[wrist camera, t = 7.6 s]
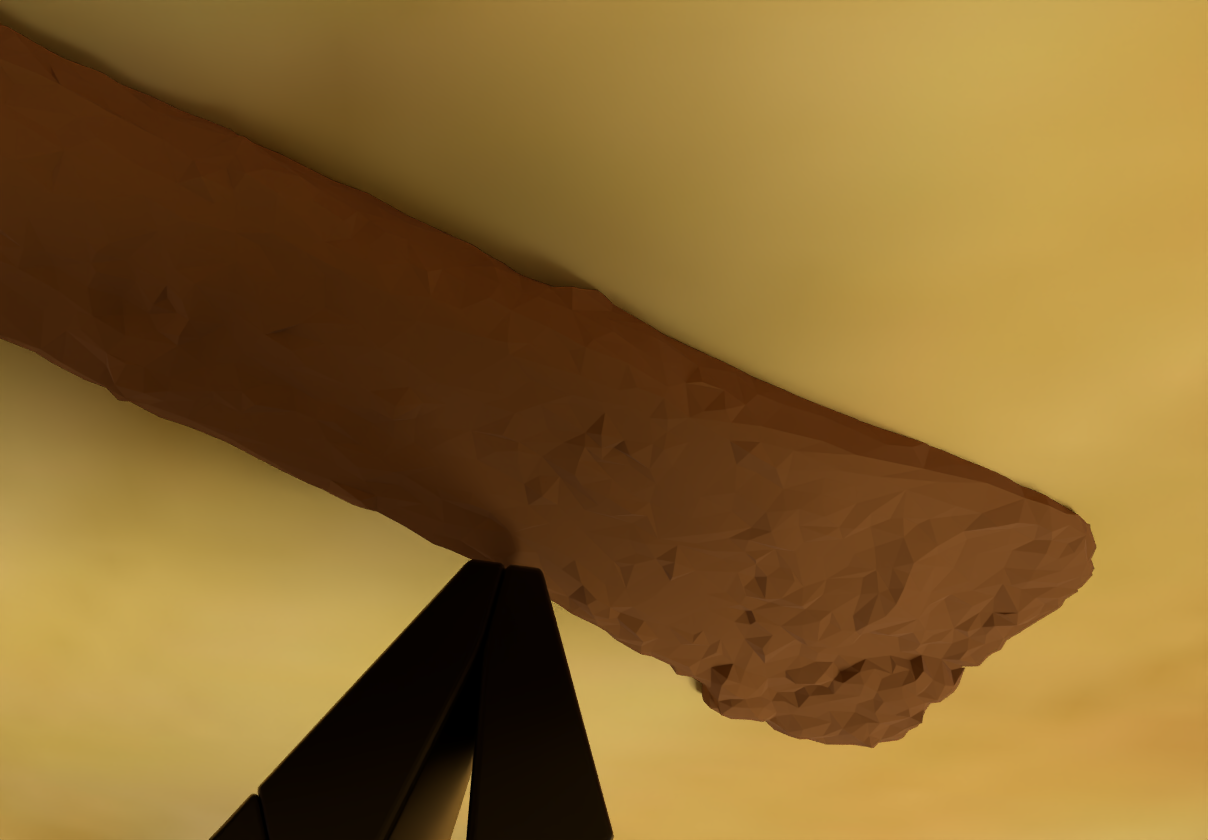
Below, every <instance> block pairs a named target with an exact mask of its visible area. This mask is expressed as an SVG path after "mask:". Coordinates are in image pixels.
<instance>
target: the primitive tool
mask: <svg viewBox="0 0 1208 840" xmlns="http://www.w3.org/2000/svg"><path fill="white" fill-rule="evenodd" d="M0 338H1V339H4V340H6V341H9V342H11V343H14V344H16V345H19V346H21V347H24V348H26V349H29V350H31V351H34V352H36V353H37V354H39V355H40V356H42V357H44V358H45V359H47V360H48V361H50V362H52V363H54V364H55V365H57V366H59V367H61V368H63V369H65V370H67V371H69V372H71V373H73V374H75V375H76V376H78V377H80V378H82V379H84V380H87V381H90V382H92V383H95V384H98V385H101V386H104V387H106V388H107V389H108V390H109V391H110V392H111V393H112V394H113V395H114V396H115V397H116V398H117V399H118V400H121V401H130V402H132V403H134V404H136V405H138V406H140V407H142V408H144V409H145V410H147V411H149V412H151V413H153V414H155V415H157V416H159V417H161V418H164V419H167V420H170V421H173V422H176V423H180V424H183V425H186V426H189V427H191V428H194V429H196V430H199V431H201V432H203V433H206V434H208V435H211V436H213V437H216V438H218V439H221V440H223V441H226V442H228V443H229V444H231V445H233V446H235V447H237V448H239V449H241V450H243V451H245V452H247V453H249V454H251V455H253V456H255V457H256V458H258V459H260V460H262V461H264V462H266V463H268V464H270V465H272V466H274V467H276V468H278V469H280V470H282V471H284V472H286V473H288V474H290V475H292V476H294V477H296V478H298V479H300V480H302V481H305V482H307V483H309V484H311V485H313V486H316V487H319V488H321V489H324V490H325V491H327V492H329V493H330V494H332V495H334V496H336V497H338V498H340V499H343V500H345V501H347V502H349V503H351V504H353V505H356V506H359V507H362V508H365V509H369V510H373V511H377V512H379V513H381V514H383V515H385V516H387V517H389V518H391V519H392V520H394V521H396V522H398V523H400V524H402V525H404V526H405V527H407V528H409V529H410V530H412V531H413V532H415V533H417V534H418V535H420V536H422V537H423V538H425V539H426V540H428V541H430V542H431V543H433V544H435V545H438V546H441V547H444V548H446V549H449V550H452V551H454V552H456V553H458V554H461V555H463V556H465V557H468V558H470V559H472V560H473V559H477V560H484V561H491V562H499V563H502V564H503V565H504V566H505V569H506V568H507V566H509V565H520V566H528V567H535V568H539V569H540V570H541V571H542V572H543V574H544V577H545V581H546V585H547V588H548V592H549V596H550V600H552V601H554V602H555V603H557V604H559V605H560V606H561V607H563V608H564V609H566V610H567V611H569V612H570V613H572V614H574V615H576V616H578V617H580V618H582V619H584V620H586V621H588V622H590V623H592V624H594V625H597V626H598V627H600V628H602V629H604V630H605V631H607V632H608V633H609V634H610V635H611V636H612V637H613V638H614V639H616V640H617V641H619V642H621V643H623V644H624V645H626V646H628V647H629V648H631V649H633V650H635V651H636V652H638V653H640V654H643V655H648V656H652V657H655V658H657V659H659V660H661V661H663V662H666V663H668V664H670V665H671V667H672V668H673V670H674V671H675V672H676V674H677V675H684V676H690V677H693V678H694V679H696V680H698V681H700V682H701V683H703V685H702V697H703V700H704V702H705V703H706V704H707V705H708V706H709V707H710V708H711V709H713V710H715V711H717V712H718V713H720V714H721V715H723V716H725V717H728V718H730V719H747V720H755V721H761V722H763V721H766V722H767V723H768V724H769V725H770V726H771V727H772V728H773V729H774V730H777V731H779V732H781V733H783V734H786V735H788V736H791V737H794V738H797V739H809V740H813V741H816V742H820V743H824V744H839V745H859V746H866V747H870V748H874V747H875V746H876V745H877V744H878V743H880V742H887V741H895V740H899V739H901V738H903V737H904V736H905V734H906V733H907V732H908V731H909V730H911V729H913V728H915V727H917V726H918V725H919V724H920V723H922V719H923V715H924V713H925V710H926V709H927V707H928V706H929V705H930V703H937V702H941V701H942V700H944V699H945V698H946V697H948V696H949V695H950V694H952V693H953V692H954V691H955V690H956V688H957V687H958V685H959V683H960V680H961V677H962V674H963V671H964V669H965V668H961V667H962V666H978V665H980V664H981V663H982V662H983V661H984V660H985V659H986V658H987V657H988V656H989V655H991V654H992V653H994V652H997V651H999V650H1001V648H1002V647H1003V645H1004V644H1005V642H1006V640H1008V639H1009V638H1011V637H1012V636H1014V635H1016V634H1018V633H1020V632H1021V631H1022V630H1024V629H1026V628H1027V627H1029V626H1031V625H1032V624H1034V623H1036V622H1037V621H1039V620H1040V619H1042V618H1044V617H1045V616H1047V615H1049V614H1050V613H1052V612H1054V611H1055V610H1057V609H1058V608H1060V607H1061V606H1062V604H1063V602H1064V600H1065V599H1067V598H1068V597H1070V596H1071V595H1073V594H1074V593H1076V592H1078V590H1077V589H1079V588H1080V587H1082V586H1083V585H1084V584H1085V583H1086V581H1087V580H1088V579H1089V578H1090V577H1091V576H1092V571H1093V569H1094V567H1093V564H1092V561H1091V558H1092V556H1093V554H1094V552H1095V549H1096V544H1095V541H1094V538H1093V535H1092V532H1091V529H1090V524H1087V523H1086V522H1085V521H1084V520H1083V519H1082V518H1081V517H1080V516H1079V515H1078V514H1076V513H1074V512H1072V511H1070V510H1069V509H1067V508H1065V507H1064V506H1062V505H1060V504H1059V503H1057V502H1055V501H1054V500H1052V499H1050V498H1049V497H1047V496H1046V495H1043V494H1041V493H1038V492H1036V491H1034V490H1031V489H1029V488H1026V487H1022V486H1020V485H1018V484H1017V483H1015V482H1013V481H1012V480H1010V479H1008V478H1007V477H1005V476H1003V475H1000V474H998V473H996V472H994V471H991V470H989V469H987V468H984V467H982V466H979V465H977V464H974V463H971V462H969V461H966V460H964V459H961V458H959V457H957V456H954V455H952V454H950V453H948V452H945V451H943V450H940V449H937V448H934V447H931V446H929V445H927V444H926V443H923V442H920V441H917V440H914V439H911V438H908V437H905V436H902V435H900V434H896V433H893V432H890V431H887V430H884V429H881V428H878V427H875V426H872V425H869V424H867V423H864V422H861V421H858V420H856V419H855V418H852V417H849V416H847V415H844V414H842V413H839V412H836V411H834V410H831V409H829V408H826V407H824V406H821V405H818V404H816V403H813V402H811V401H808V400H806V399H803V398H801V397H799V396H796V395H794V394H792V393H789V392H787V391H785V390H783V389H781V388H778V387H776V386H774V385H771V384H769V383H766V382H764V381H761V380H759V379H757V378H754V377H752V376H750V375H748V374H746V373H744V372H743V371H741V370H739V369H737V368H735V367H733V366H731V365H729V364H726V363H724V362H722V361H720V360H718V359H716V358H713V357H711V356H709V355H707V354H705V353H703V352H700V351H698V350H696V349H694V348H692V347H690V346H687V345H685V344H683V343H681V342H679V341H677V340H674V339H672V338H670V337H668V336H666V335H664V334H662V333H661V332H659V331H657V330H656V329H654V328H653V327H651V326H650V325H648V324H646V323H644V322H643V321H641V320H639V319H637V318H636V317H634V316H632V315H630V314H629V313H627V312H625V311H624V310H622V309H620V308H618V307H617V306H615V305H613V304H612V303H611V302H610V301H609V300H608V299H607V298H606V297H605V296H604V295H603V294H602V293H601V292H599V291H598V290H590V289H579V288H576V287H552V286H550V285H548V284H545V283H542V282H539V281H536V280H533V279H530V278H527V277H525V276H523V275H521V274H519V273H517V272H515V271H514V270H512V269H511V268H510V267H508V266H507V265H505V264H504V263H502V262H500V261H498V260H496V259H494V258H493V257H491V256H489V255H487V254H485V253H483V252H482V251H480V250H479V249H478V248H476V247H475V246H473V245H472V244H470V243H467V242H465V241H462V240H460V239H458V238H455V237H453V236H451V235H449V234H447V233H445V232H442V231H440V230H438V229H436V228H434V227H432V226H430V225H427V224H425V223H423V222H421V221H419V220H417V219H415V218H412V217H410V216H408V215H406V214H404V213H402V212H401V211H399V210H397V209H395V208H393V207H392V206H390V205H388V204H386V203H385V202H383V201H381V200H379V199H377V198H376V197H374V196H372V195H370V194H368V193H366V192H363V191H360V190H357V189H355V188H352V187H349V186H347V185H344V184H341V183H338V182H336V181H333V180H331V179H329V178H327V177H325V176H323V175H321V174H319V173H317V172H315V171H313V170H311V169H309V168H307V167H305V166H303V165H301V164H299V163H297V162H295V161H293V160H291V159H289V158H287V157H285V156H283V155H281V154H279V153H277V152H274V151H272V150H269V149H267V148H264V147H262V146H260V145H257V144H255V143H253V142H251V141H250V140H249V139H247V138H246V137H244V136H239V135H237V134H236V133H234V132H233V131H232V130H230V129H228V128H225V127H223V126H220V125H218V124H215V123H213V122H211V121H209V120H206V119H203V118H200V117H197V116H194V115H191V114H189V113H186V112H184V111H181V110H179V109H176V108H174V107H172V106H170V105H168V104H166V103H164V102H162V101H160V100H158V99H156V98H154V97H152V96H149V95H147V94H144V93H142V92H139V91H137V90H134V89H132V88H129V87H126V86H124V85H121V84H119V83H118V82H116V81H115V80H113V79H111V78H110V77H108V76H107V75H105V74H104V73H102V72H99V71H96V70H94V69H91V68H88V67H86V66H83V65H80V64H78V63H75V62H72V61H70V60H67V59H64V58H62V57H60V56H58V55H57V54H55V53H53V52H51V51H49V50H47V49H45V48H44V47H42V46H40V45H38V44H36V43H35V42H33V41H31V40H30V39H28V38H26V37H24V36H23V35H21V34H19V33H18V32H16V31H14V30H12V29H11V28H9V27H7V26H3V25H0Z"/></svg>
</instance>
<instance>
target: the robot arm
mask: <svg viewBox="0 0 1208 840" xmlns="http://www.w3.org/2000/svg"><path fill="white" fill-rule="evenodd" d="M471 772H472V776H471V788H470V801H469V813H468V825H467V837H466V840H613V838H614V835H613V831H612V827H611V823H610V820H609V816H608V812H607V808H606V805H605V801H604V797H603V793H602V790H601V786H600V782H599V779H598V775H597V771H596V767H595V764H594V760H593V756H592V752H591V749H590V745H589V741H588V738H587V734H586V730H585V726H584V723H583V719H582V715H581V711H580V708H579V704H578V700H577V697H576V693H575V689H574V685H573V682H572V678H571V674H570V670H569V667H568V663H567V659H566V656H565V652H564V648H563V644H562V641H561V637H560V633H559V629H558V626H557V622H556V618H555V615H554V611H553V607H552V603H551V600H550V596H549V592H548V588H547V585H546V581H545V577H544V574H543V572H542V571H541V570H540V569H539V568H535V567H528V566H520V565H509V566H507V568H506V569H505V566H504V565H503V564H502V563H499V562H491V561H484V560H477V559H473V560H470V561H468V562H467V563H466V564H465V565H464V566H463V567H462V568H461V569H460V570H459V571H458V572H457V573H456V575H455V576H454V577H453V578H452V579H451V580H450V581H449V582H448V583H447V584H446V585H445V586H444V587H443V589H442V590H441V591H440V592H439V593H438V594H437V595H436V596H435V597H434V598H433V599H432V600H431V601H430V603H429V604H428V605H427V606H426V607H425V608H424V609H423V610H422V611H421V612H420V613H419V614H418V615H417V617H416V618H415V619H414V620H413V621H412V622H411V623H410V624H409V625H408V626H407V627H406V628H405V629H404V631H403V632H402V633H401V634H400V635H399V636H398V637H397V638H396V639H395V640H394V641H393V642H392V643H391V645H390V646H389V647H388V648H387V649H386V650H385V651H384V652H383V653H382V654H381V655H380V656H379V657H378V659H377V660H376V661H375V662H374V663H373V664H372V665H371V666H370V667H369V668H368V669H367V670H366V671H365V673H364V674H363V675H362V676H361V677H360V678H359V679H358V680H357V681H356V682H355V683H354V684H353V686H352V687H351V688H350V689H349V690H348V691H347V692H346V693H345V694H344V695H343V696H342V697H341V698H340V700H339V701H338V702H337V703H336V704H335V705H334V706H333V707H332V708H331V709H330V710H329V711H328V712H327V714H326V715H325V716H324V717H323V718H322V719H321V720H320V721H319V722H318V723H317V724H316V725H315V726H314V728H313V729H312V730H311V731H310V732H309V733H308V734H307V735H306V736H305V737H304V738H303V739H302V740H301V742H300V743H299V744H298V745H297V746H296V747H295V748H294V749H293V750H292V751H291V752H290V753H289V754H288V756H287V757H286V758H285V759H284V760H283V761H282V762H281V763H280V764H279V765H278V766H277V767H276V768H275V770H274V771H273V772H272V773H271V774H270V775H269V776H268V777H267V778H266V779H265V780H264V781H263V782H262V784H261V785H260V786H259V787H258V795H257V794H251V795H250V796H249V797H248V798H247V799H246V800H245V801H244V802H243V804H242V805H241V806H240V807H239V808H238V809H237V810H236V811H235V812H234V813H233V814H232V815H231V817H230V818H229V819H228V820H227V821H226V822H225V823H224V824H223V825H222V826H221V827H220V828H219V829H218V830H217V831H216V832H215V833H214V834H213V836H212V837H211V838H210V839H209V840H450V839H451V836H452V833H453V829H454V826H455V823H456V820H457V817H458V814H459V810H460V807H461V804H462V801H463V798H464V795H465V791H466V788H467V785H468V782H469V779H470V775H471ZM258 796H259V797H258Z"/></svg>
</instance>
